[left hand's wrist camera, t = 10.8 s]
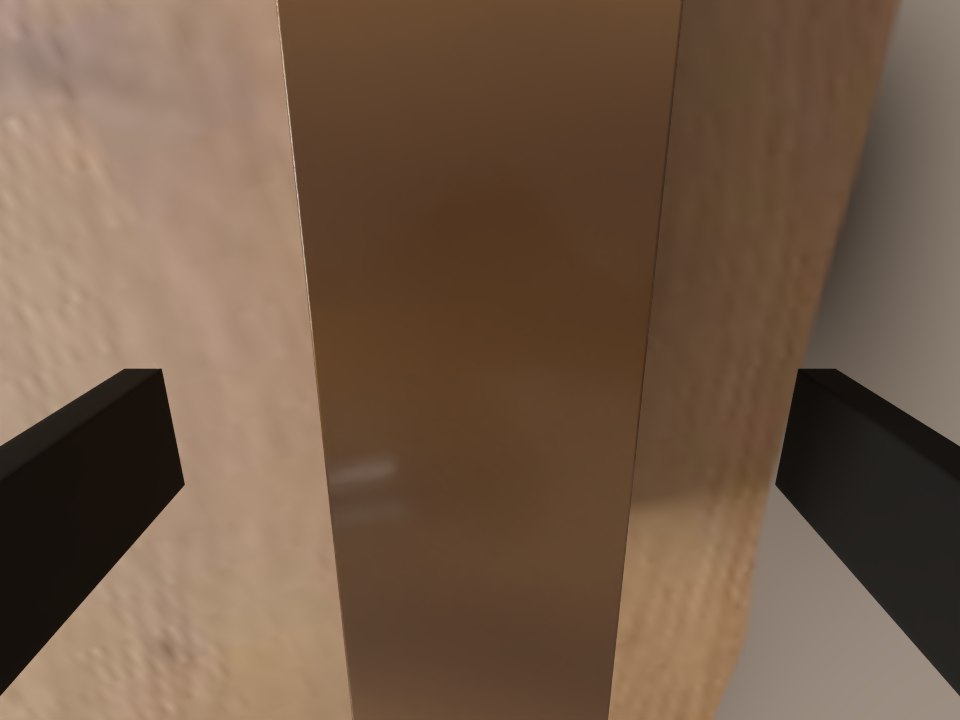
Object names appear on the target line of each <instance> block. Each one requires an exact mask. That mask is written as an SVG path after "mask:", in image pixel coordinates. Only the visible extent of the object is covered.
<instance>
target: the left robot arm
mask: <svg viewBox="0 0 960 720" xmlns="http://www.w3.org/2000/svg"><path fill="white" fill-rule="evenodd" d="M184 485H185V483H184V478H183V473H182V468H181V463H180V458H179V453H178V448H177V443H176V438H175V433H174V428H173V423H172V418H171V413H170V408H169V403H168V398H167V393H166V388H165V383H164V378H163V373H162V369H123V370H122V371H120V372H119V373H117V374H115V375H114V376H112V377H111V378H109V379H107V380H106V381H104V382H103V383H101V384H99V385H98V386H96V387H95V388H93V389H91V390H90V391H88V392H87V393H85V394H83V395H82V396H80V397H79V398H77V399H75V400H74V401H72V402H71V403H69V404H67V405H66V406H64V407H63V408H61V409H59V410H58V411H56V412H55V413H53V414H51V415H50V416H48V417H47V418H45V419H43V420H42V421H40V422H39V423H37V424H35V425H34V426H32V427H30V428H29V429H27V430H26V431H24V432H22V433H21V434H19V435H18V436H16V437H14V438H13V439H11V440H10V441H8V442H6V443H5V444H3V445H2V446H0V696H1V695H2V693H3V692H4V691H5V690H6V689H7V688H8V686H9V685H10V684H11V683H12V682H13V681H14V680H15V678H16V677H17V676H18V675H19V674H20V673H21V672H22V670H23V669H24V668H25V667H26V666H27V665H28V664H29V662H30V661H31V660H32V659H33V658H34V657H35V656H36V654H37V653H38V652H39V651H40V650H41V649H42V648H43V646H44V645H45V644H46V643H47V642H48V641H49V640H50V638H51V637H52V636H53V635H54V634H55V633H56V632H57V630H58V629H59V628H60V627H61V626H62V625H63V624H64V622H65V621H66V620H67V619H68V618H69V617H70V616H71V614H72V613H73V612H74V611H75V610H76V609H77V608H78V606H79V605H80V604H81V603H82V602H83V601H84V599H85V598H86V597H87V596H88V595H89V594H90V593H91V591H92V590H93V589H94V588H95V587H96V586H97V585H98V583H99V582H100V581H101V580H102V579H103V578H104V577H105V575H106V574H107V573H108V572H109V571H110V570H111V569H112V567H113V566H114V565H115V564H116V563H117V562H118V561H119V559H120V558H121V557H122V556H123V555H124V554H125V553H126V551H127V550H128V549H129V548H130V547H131V546H132V545H133V543H134V542H135V541H136V540H137V539H138V538H139V537H140V535H141V534H142V533H143V532H144V531H145V530H146V529H147V527H148V526H149V525H150V524H151V523H152V522H153V521H154V519H155V518H156V517H157V516H158V515H159V514H160V513H161V511H162V510H163V509H164V508H165V507H166V506H167V504H168V503H169V502H170V501H171V500H172V499H173V498H174V496H175V495H176V494H177V493H178V492H179V491H180V490H181V488H182V487H183V486H184ZM775 485H776V486H777V487H778V488H779V490H780V491H781V492H782V493H783V494H784V495H785V496H786V498H787V499H788V500H789V501H790V502H791V503H792V504H793V506H794V507H795V508H796V509H797V510H798V511H799V513H800V514H801V515H802V516H803V517H804V518H805V519H806V521H807V522H808V523H809V524H810V525H811V526H812V527H813V529H814V530H815V531H816V532H817V533H818V534H819V535H820V537H821V538H822V539H823V540H824V541H825V542H826V543H827V545H828V546H829V547H830V548H831V549H832V550H833V551H834V553H835V554H836V555H837V556H838V557H839V558H840V559H841V561H842V562H843V563H844V564H845V565H846V566H847V567H848V569H849V570H850V571H851V572H852V573H853V574H854V575H855V577H856V578H857V579H858V580H859V581H860V582H861V583H862V585H863V586H864V587H865V588H866V589H867V590H868V591H869V593H870V594H871V595H872V596H873V597H874V598H875V600H876V601H877V602H878V603H879V604H880V605H881V606H882V608H883V609H884V610H885V611H886V612H887V613H888V614H889V615H890V617H891V618H892V619H893V620H894V621H895V622H896V624H897V625H898V626H899V627H900V628H901V629H902V630H903V631H904V633H905V634H906V635H907V636H908V637H909V638H910V640H911V641H912V642H913V643H914V644H915V645H916V646H917V648H918V649H919V650H920V651H921V652H922V653H923V654H924V656H925V657H926V658H927V659H928V660H929V661H930V662H931V664H932V665H933V666H934V667H935V668H936V669H937V670H938V672H939V673H940V674H941V675H942V676H943V677H944V678H945V680H946V681H947V682H948V683H949V684H950V685H951V686H952V688H953V689H954V690H955V691H956V692H957V693H958V695H959V696H960V446H958V445H957V444H955V443H954V442H952V441H950V440H949V439H947V438H946V437H944V436H942V435H941V434H939V433H937V432H936V431H934V430H933V429H931V428H930V427H928V426H926V425H925V424H923V423H921V422H920V421H918V420H917V419H915V418H913V417H912V416H910V415H909V414H907V413H905V412H904V411H902V410H901V409H899V408H897V407H896V406H894V405H893V404H891V403H889V402H888V401H886V400H885V399H883V398H881V397H880V396H878V395H877V394H875V393H873V392H872V391H870V390H869V389H867V388H865V387H864V386H862V385H861V384H859V383H857V382H856V381H854V380H853V379H851V378H849V377H848V376H846V375H845V374H843V373H841V372H840V371H838V370H837V369H798V373H797V378H796V383H795V388H794V393H793V398H792V403H791V408H790V413H789V418H788V423H787V428H786V433H785V438H784V443H783V448H782V453H781V458H780V463H779V468H778V473H777V478H776V483H775Z"/></svg>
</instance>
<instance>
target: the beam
mask: <svg viewBox="0 0 960 720" xmlns="http://www.w3.org/2000/svg"><path fill="white" fill-rule="evenodd" d="M682 8H683V0H276V9H277V18H278V27H279V37H280V46H281V55H282V65H283V74H284V84H285V93H286V102H287V112H288V121H289V130H290V140H291V149H292V158H293V168H294V177H295V187H296V196H297V205H298V215H299V224H300V233H301V243H302V252H303V261H304V271H305V280H306V290H307V299H308V308H309V318H310V327H311V336H312V346H313V355H314V364H315V374H316V383H317V393H318V402H319V411H320V421H321V430H322V439H323V449H324V458H325V467H326V477H327V486H328V496H329V505H330V514H331V524H332V533H333V542H334V552H335V561H336V570H337V580H338V589H339V599H340V608H341V617H342V627H343V636H344V645H345V655H346V664H347V674H348V683H349V692H350V702H351V711H352V720H608V714H609V705H610V695H611V686H612V676H613V666H614V657H615V647H616V638H617V628H618V619H619V609H620V600H621V590H622V581H623V571H624V562H625V552H626V542H627V533H628V523H629V514H630V504H631V495H632V485H633V476H634V466H635V457H636V447H637V437H638V428H639V418H640V409H641V399H642V390H643V380H644V371H645V361H646V352H647V342H648V332H649V323H650V313H651V304H652V294H653V285H654V275H655V266H656V256H657V247H658V237H659V227H660V218H661V208H662V199H663V189H664V180H665V170H666V161H667V151H668V142H669V132H670V122H671V113H672V103H673V94H674V84H675V75H676V65H677V56H678V46H679V37H680V27H681V17H682Z"/></svg>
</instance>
